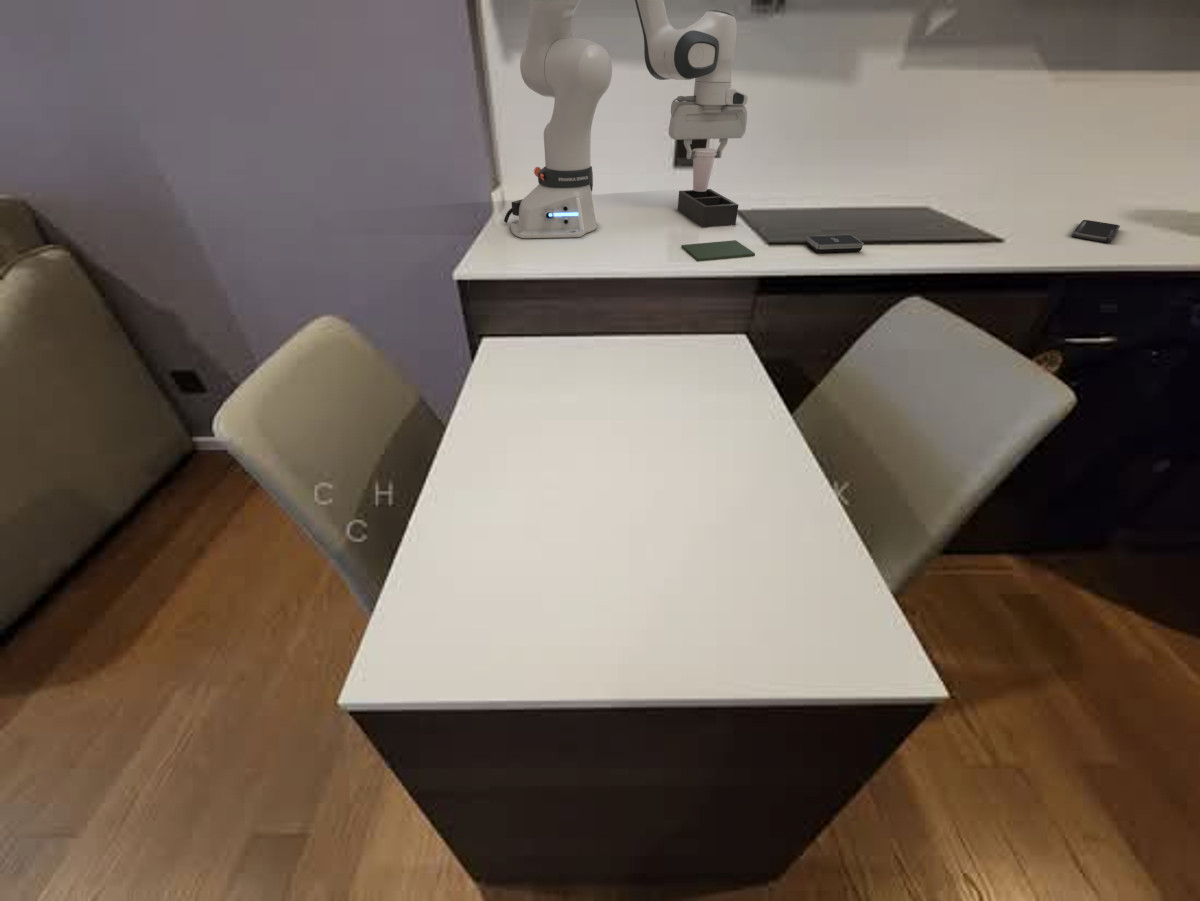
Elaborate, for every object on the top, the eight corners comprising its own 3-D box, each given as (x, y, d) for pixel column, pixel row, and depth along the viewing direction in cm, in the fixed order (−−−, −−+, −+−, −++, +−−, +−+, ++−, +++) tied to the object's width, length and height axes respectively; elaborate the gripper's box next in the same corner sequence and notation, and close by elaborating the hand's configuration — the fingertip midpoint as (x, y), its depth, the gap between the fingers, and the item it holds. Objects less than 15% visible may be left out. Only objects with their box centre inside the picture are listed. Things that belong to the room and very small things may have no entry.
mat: (697, 261, 117) (697, 258, 117) (681, 247, 125) (681, 244, 124) (754, 255, 120) (755, 253, 119) (735, 242, 127) (735, 240, 127)
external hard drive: (861, 252, 121) (864, 243, 120) (815, 254, 121) (817, 245, 119) (848, 243, 127) (850, 234, 126) (803, 244, 126) (805, 236, 125)
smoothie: (713, 193, 142) (721, 132, 133) (689, 192, 142) (696, 132, 133) (709, 187, 147) (717, 129, 138) (686, 187, 147) (693, 129, 138)
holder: (735, 224, 139) (738, 204, 136) (702, 227, 137) (704, 207, 134) (708, 207, 153) (710, 188, 150) (677, 209, 151) (678, 190, 148)
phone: (1073, 232, 129) (1083, 219, 137) (1070, 236, 130) (1081, 223, 138) (1113, 238, 125) (1121, 225, 133) (1110, 243, 125) (1118, 229, 134)
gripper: (676, 97, 127) (671, 161, 135) (753, 96, 131) (743, 159, 139) (667, 94, 131) (662, 157, 140) (742, 94, 136) (733, 155, 144)
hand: (703, 158), depth 140 cm, fingers closed on smoothie, 6 cm apart
